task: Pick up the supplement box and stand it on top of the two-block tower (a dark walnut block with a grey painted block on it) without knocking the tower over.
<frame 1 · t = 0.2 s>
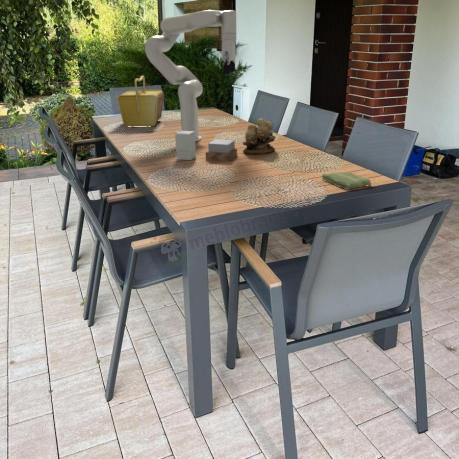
hand: (229, 72, 247), 37 cm above the table, tool pointing down, fingers open, 9 cm apart
grey top block: (221, 150, 229), point 4 cm above the table, touching walnut base block
picnic basket: (143, 124, 316), on the table
walnut base block: (221, 158, 230), on the table, touching grey top block
supplement box: (186, 158, 230), on the table
washcloth: (345, 184, 191), on the table
carved figurine: (259, 152, 240), on the table
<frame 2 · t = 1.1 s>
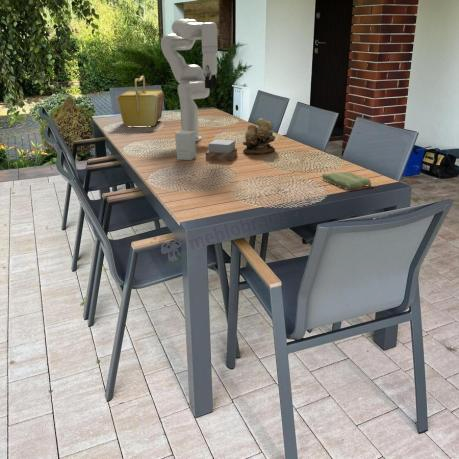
hand: (211, 87, 235), 31 cm above the table, tool pointing down, fingers open, 9 cm apart
nothing on the table moved.
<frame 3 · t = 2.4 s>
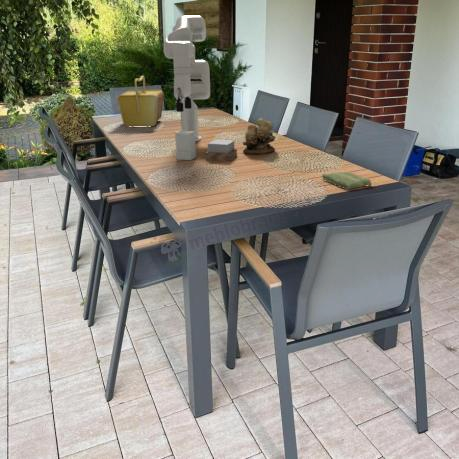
hand: (184, 110, 221), 23 cm above the table, tool pointing down, fingers open, 9 cm apart
grey top block: (221, 150, 229), point 3 cm above the table
walnut base block: (221, 158, 230), on the table
everything else where it was.
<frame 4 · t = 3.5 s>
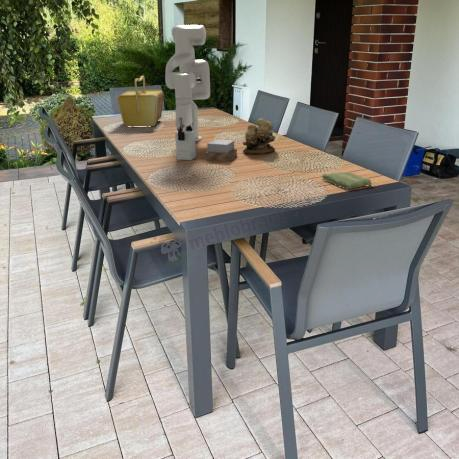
hand: (185, 138, 225), 10 cm above the table, tool pointing down, fingers open, 9 cm apart
grey top block: (221, 150, 229), point 3 cm above the table, touching walnut base block
walnut base block: (221, 158, 230), on the table, touching grey top block
everything else where it was.
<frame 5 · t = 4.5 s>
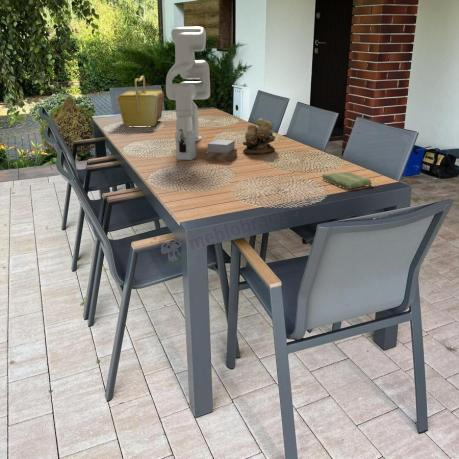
hand: (186, 150, 228), 4 cm above the table, tool pointing down, fingers closed on supplement box, 7 cm apart
supplement box: (186, 158, 230), on the table, touching gripper
everything else where it was.
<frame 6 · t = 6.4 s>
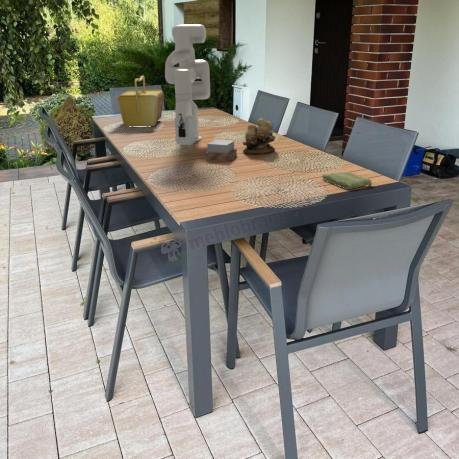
hand: (185, 135, 226), 11 cm above the table, tool pointing down, fingers closed on supplement box, 7 cm apart
supplement box: (185, 143, 228), point 7 cm above the table, touching gripper
everything else where it was.
when the fingers open (13 cm above the table, at t = 11.5 s): supplement box drops 2 cm, point 7 cm above the table.
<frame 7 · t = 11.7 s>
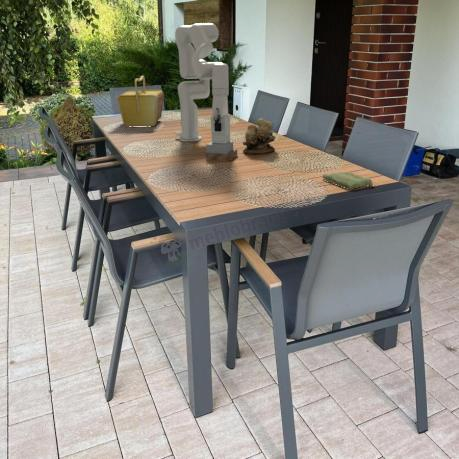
hand: (221, 129, 225), 14 cm above the table, tool pointing down, fingers open, 8 cm apart
supplement box: (221, 142, 228), point 7 cm above the table, touching gripper
everything else where it was.
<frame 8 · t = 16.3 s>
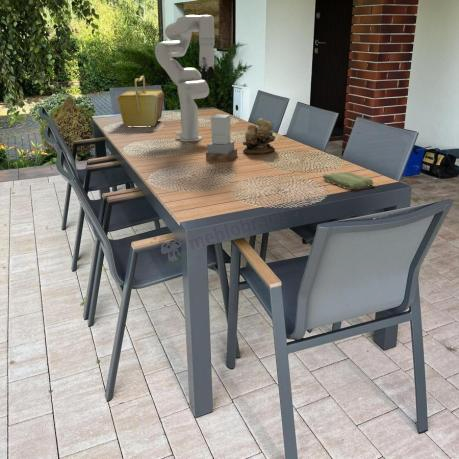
hand: (208, 78, 240), 34 cm above the table, tool pointing down, fingers open, 9 cm apart
grey top block: (221, 150, 228), point 3 cm above the table
walnut base block: (221, 158, 230), on the table
supplement box: (221, 142, 226), point 7 cm above the table
everything else where it was.
at the end: supplement box 0.1 cm off-centre on the grey top block, point 3.8 cm above the grey top block's base; grey top block 0.6 cm off-centre on the walnut base block, point 4.0 cm above the walnut base block's base; supplement box tilted 0° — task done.
